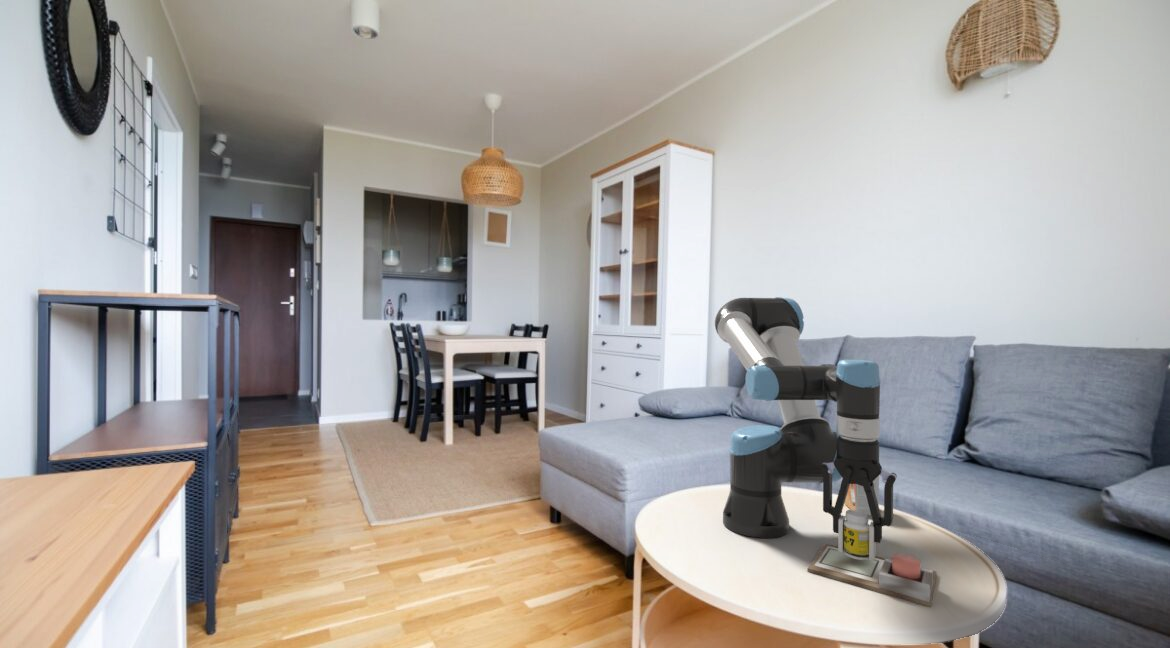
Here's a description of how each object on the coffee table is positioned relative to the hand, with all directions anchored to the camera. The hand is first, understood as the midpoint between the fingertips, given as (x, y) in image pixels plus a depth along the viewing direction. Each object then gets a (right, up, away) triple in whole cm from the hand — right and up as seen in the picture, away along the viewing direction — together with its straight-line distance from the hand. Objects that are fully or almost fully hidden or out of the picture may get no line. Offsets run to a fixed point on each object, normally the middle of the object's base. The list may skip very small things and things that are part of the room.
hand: (856, 553), depth 102 cm
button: (+4, 0, -9) cm, 10 cm away
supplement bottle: (0, -1, 0) cm, 1 cm away
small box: (+17, -3, +30) cm, 35 cm away
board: (+1, -3, -3) cm, 4 cm away
